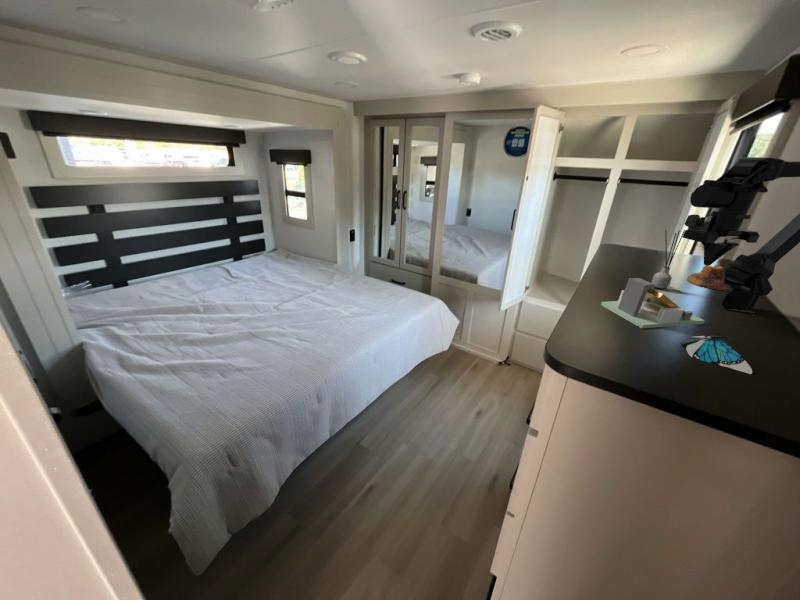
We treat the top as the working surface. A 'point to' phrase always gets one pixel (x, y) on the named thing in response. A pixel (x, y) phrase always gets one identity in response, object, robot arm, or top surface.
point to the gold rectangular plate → (660, 299)
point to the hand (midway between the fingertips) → (706, 265)
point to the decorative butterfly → (716, 352)
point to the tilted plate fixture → (647, 308)
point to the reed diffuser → (665, 268)
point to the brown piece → (709, 278)
